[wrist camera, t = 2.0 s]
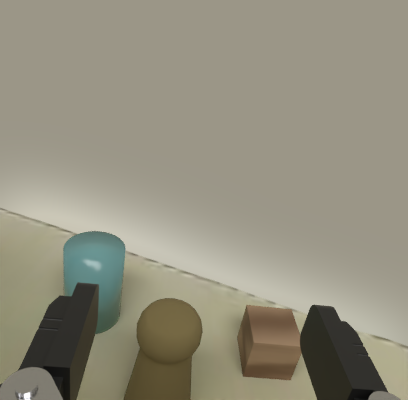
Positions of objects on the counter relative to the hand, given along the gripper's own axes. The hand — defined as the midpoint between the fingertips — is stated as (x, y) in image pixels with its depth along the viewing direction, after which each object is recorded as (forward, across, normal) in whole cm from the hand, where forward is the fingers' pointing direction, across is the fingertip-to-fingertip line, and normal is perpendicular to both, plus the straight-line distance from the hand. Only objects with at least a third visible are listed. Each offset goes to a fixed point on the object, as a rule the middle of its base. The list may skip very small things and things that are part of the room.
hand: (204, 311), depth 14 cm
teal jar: (+22, +8, +22) cm, 32 cm away
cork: (+12, 0, +22) cm, 25 cm away
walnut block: (+18, -10, +22) cm, 30 cm away
